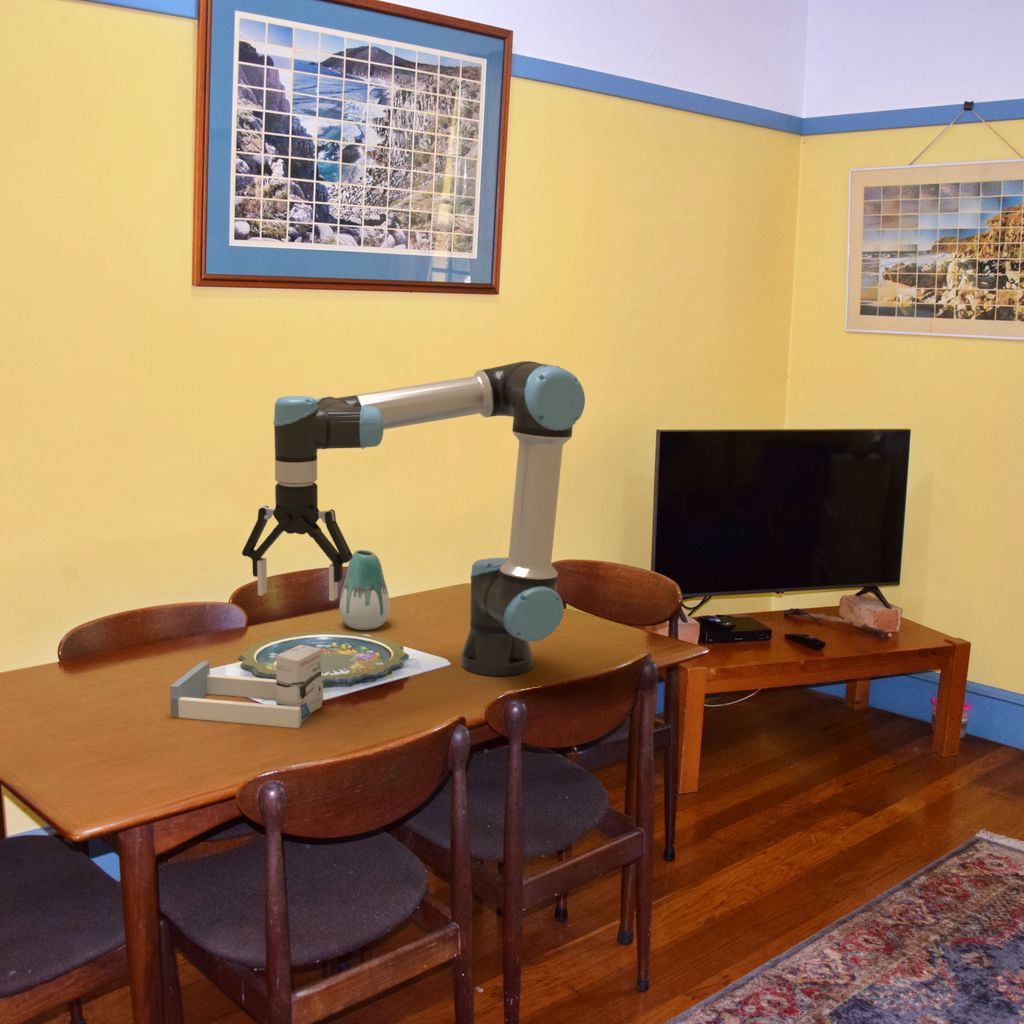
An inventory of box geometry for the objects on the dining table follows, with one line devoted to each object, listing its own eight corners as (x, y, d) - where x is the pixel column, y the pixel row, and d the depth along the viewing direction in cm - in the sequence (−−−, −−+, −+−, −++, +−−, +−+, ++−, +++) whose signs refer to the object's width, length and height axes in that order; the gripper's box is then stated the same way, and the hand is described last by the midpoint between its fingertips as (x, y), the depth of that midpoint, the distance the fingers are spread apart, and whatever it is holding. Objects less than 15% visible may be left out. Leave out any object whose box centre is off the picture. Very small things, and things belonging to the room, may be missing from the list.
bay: (323, 700, 233) (323, 671, 232) (298, 728, 219) (298, 696, 218) (203, 690, 237) (202, 661, 236) (171, 716, 223) (170, 686, 222)
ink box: (298, 721, 221) (297, 660, 219) (275, 717, 223) (274, 656, 221) (323, 706, 229) (322, 647, 227) (301, 702, 231) (300, 643, 229)
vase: (399, 624, 283) (400, 550, 279) (368, 636, 273) (368, 560, 270) (361, 616, 289) (361, 543, 285) (329, 627, 279) (328, 552, 276)
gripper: (369, 482, 219) (369, 595, 224) (238, 475, 223) (240, 586, 228) (357, 490, 212) (357, 606, 217) (222, 482, 216) (225, 597, 220)
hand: (297, 596), depth 222 cm, fingers open, 13 cm apart
